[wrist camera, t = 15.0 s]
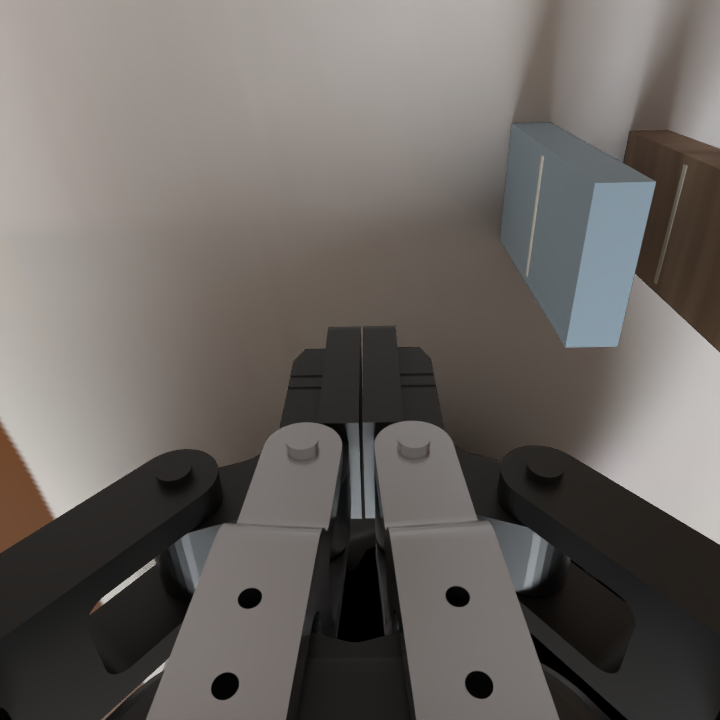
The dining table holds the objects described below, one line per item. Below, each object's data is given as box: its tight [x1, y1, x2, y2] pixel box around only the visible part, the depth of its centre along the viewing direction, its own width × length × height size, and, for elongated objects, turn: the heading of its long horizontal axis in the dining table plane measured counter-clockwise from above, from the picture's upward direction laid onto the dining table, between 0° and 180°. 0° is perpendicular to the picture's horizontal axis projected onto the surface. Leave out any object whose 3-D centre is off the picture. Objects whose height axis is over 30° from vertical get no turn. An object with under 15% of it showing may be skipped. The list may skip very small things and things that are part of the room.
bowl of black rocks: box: [337, 452, 628, 720], centre depth 27 cm, size 20×20×19 cm
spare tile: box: [500, 122, 656, 348], centre depth 21 cm, size 2×5×10 cm, turn 2°
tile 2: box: [623, 130, 720, 352], centre depth 21 cm, size 2×5×10 cm, turn 1°
